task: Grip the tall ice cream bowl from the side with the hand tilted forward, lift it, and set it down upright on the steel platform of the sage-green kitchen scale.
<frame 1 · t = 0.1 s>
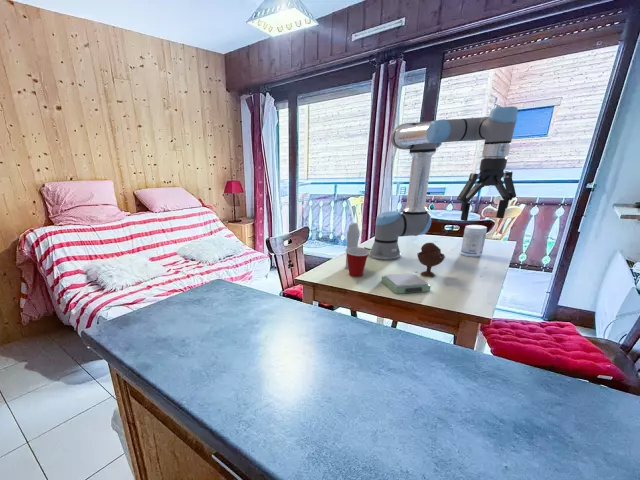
hand: (481, 219, 121), 28 cm above the table, tool pointing down, fingers open, 13 cm apart
ice cream bowl: (427, 275, 148), on the table
supplement tub: (470, 254, 171), on the table
scale: (404, 286, 137), on the table
plastic cup: (356, 275, 153), on the table
tall pale column: (351, 266, 165), on the table
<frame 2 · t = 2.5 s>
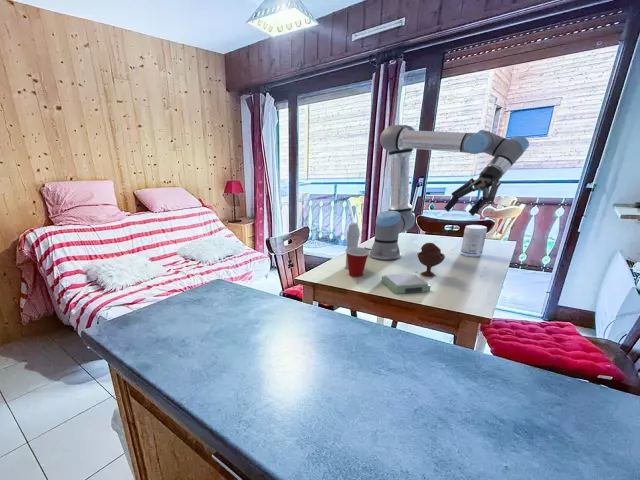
hand: (457, 211, 139), 27 cm above the table, tool tilted 45°, fingers open, 13 cm apart
nothing on the table moved.
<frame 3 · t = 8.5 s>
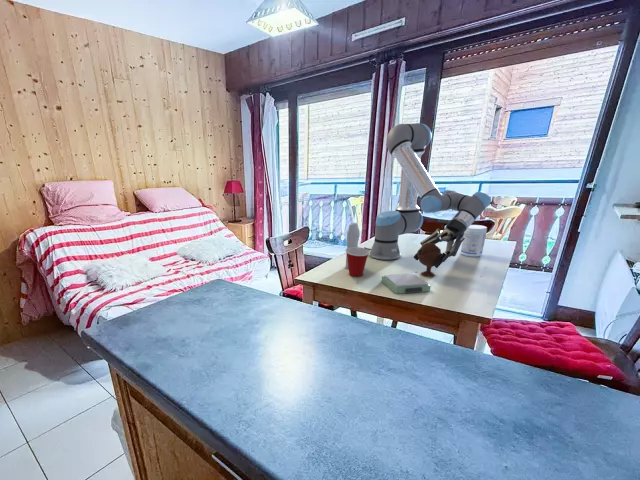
hand: (424, 262, 145), 6 cm above the table, tool tilted 45°, fingers closed on ice cream bowl, 11 cm apart
ice cream bowl: (427, 275, 148), on the table, touching gripper
everything else where it was.
when the fingers open (9 cm above the table, at t = 17.8 s): ice cream bowl stays where it is, resting on scale.
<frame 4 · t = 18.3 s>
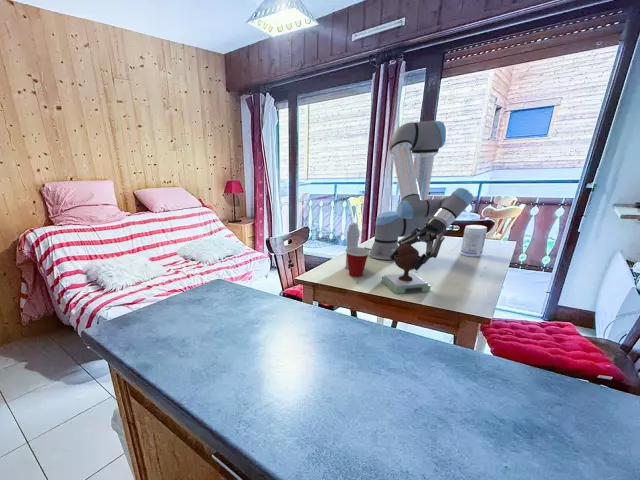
hand: (402, 263, 133), 10 cm above the table, tool tilted 45°, fingers open, 13 cm apart
ice cream bowl: (405, 279, 136), point 3 cm above the table, touching scale
everything else where it was.
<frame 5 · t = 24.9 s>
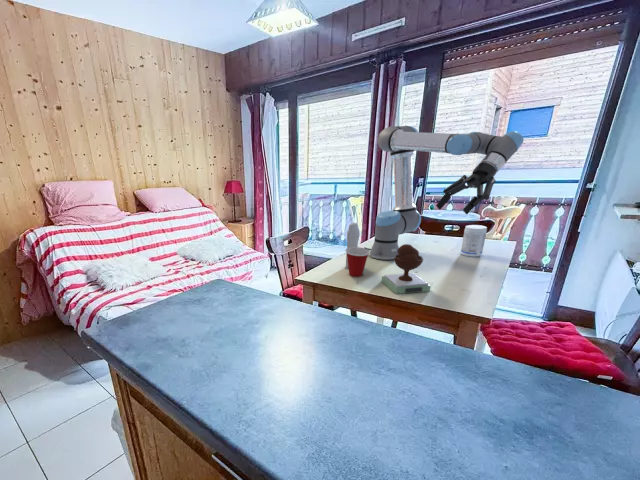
hand: (450, 209, 132), 30 cm above the table, tool tilted 45°, fingers open, 13 cm apart
nothing on the table moved.
at the end: ice cream bowl inside the target area on the scale (0.0 cm from its centre), point 3.0 cm above the scale's base; ice cream bowl tilted 0°; the gripper is holding nothing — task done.
